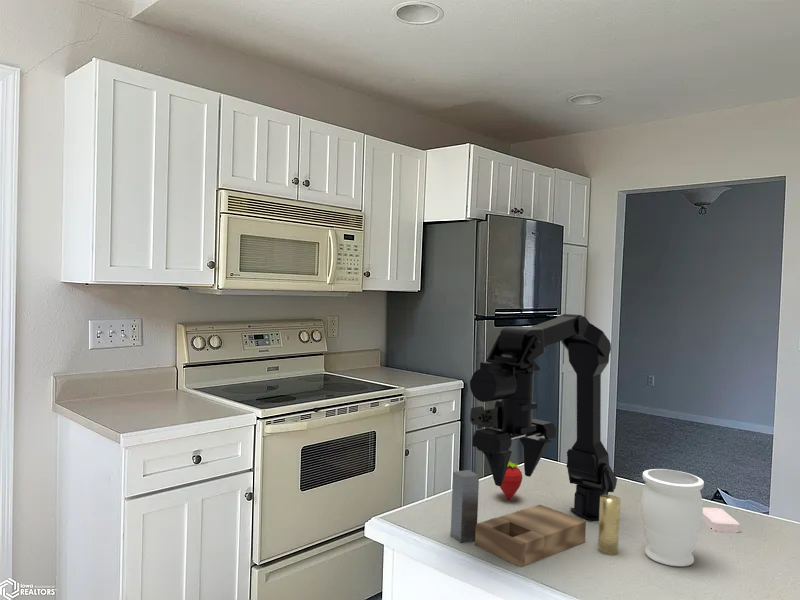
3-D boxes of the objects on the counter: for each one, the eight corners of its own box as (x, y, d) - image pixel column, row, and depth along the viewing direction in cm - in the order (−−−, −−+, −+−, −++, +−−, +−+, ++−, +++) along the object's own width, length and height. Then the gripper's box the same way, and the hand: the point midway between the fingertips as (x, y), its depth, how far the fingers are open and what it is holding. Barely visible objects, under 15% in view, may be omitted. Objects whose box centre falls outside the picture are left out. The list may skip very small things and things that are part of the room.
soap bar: (713, 533, 127) (713, 521, 127) (696, 516, 136) (696, 506, 136) (740, 534, 126) (741, 523, 126) (721, 518, 135) (722, 507, 135)
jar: (696, 576, 106) (700, 489, 105) (633, 560, 111) (637, 478, 111) (703, 554, 115) (707, 475, 114) (644, 540, 120) (648, 464, 120)
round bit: (608, 545, 117) (610, 493, 117) (622, 553, 114) (624, 500, 114) (593, 548, 116) (595, 495, 115) (607, 556, 112) (609, 502, 112)
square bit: (466, 533, 121) (468, 469, 120) (476, 540, 117) (479, 475, 117) (450, 535, 119) (453, 471, 119) (460, 542, 116) (463, 477, 116)
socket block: (539, 523, 127) (540, 504, 127) (585, 541, 118) (585, 521, 118) (474, 545, 115) (475, 523, 115) (520, 567, 107) (521, 544, 106)
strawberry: (498, 504, 138) (500, 460, 137) (492, 493, 145) (494, 451, 145) (524, 505, 138) (526, 461, 137) (517, 494, 145) (519, 452, 145)
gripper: (511, 385, 125) (507, 462, 125) (450, 394, 112) (446, 479, 112) (559, 394, 117) (555, 475, 117) (499, 404, 104) (495, 495, 104)
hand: (513, 480), depth 113 cm, fingers open, 9 cm apart
